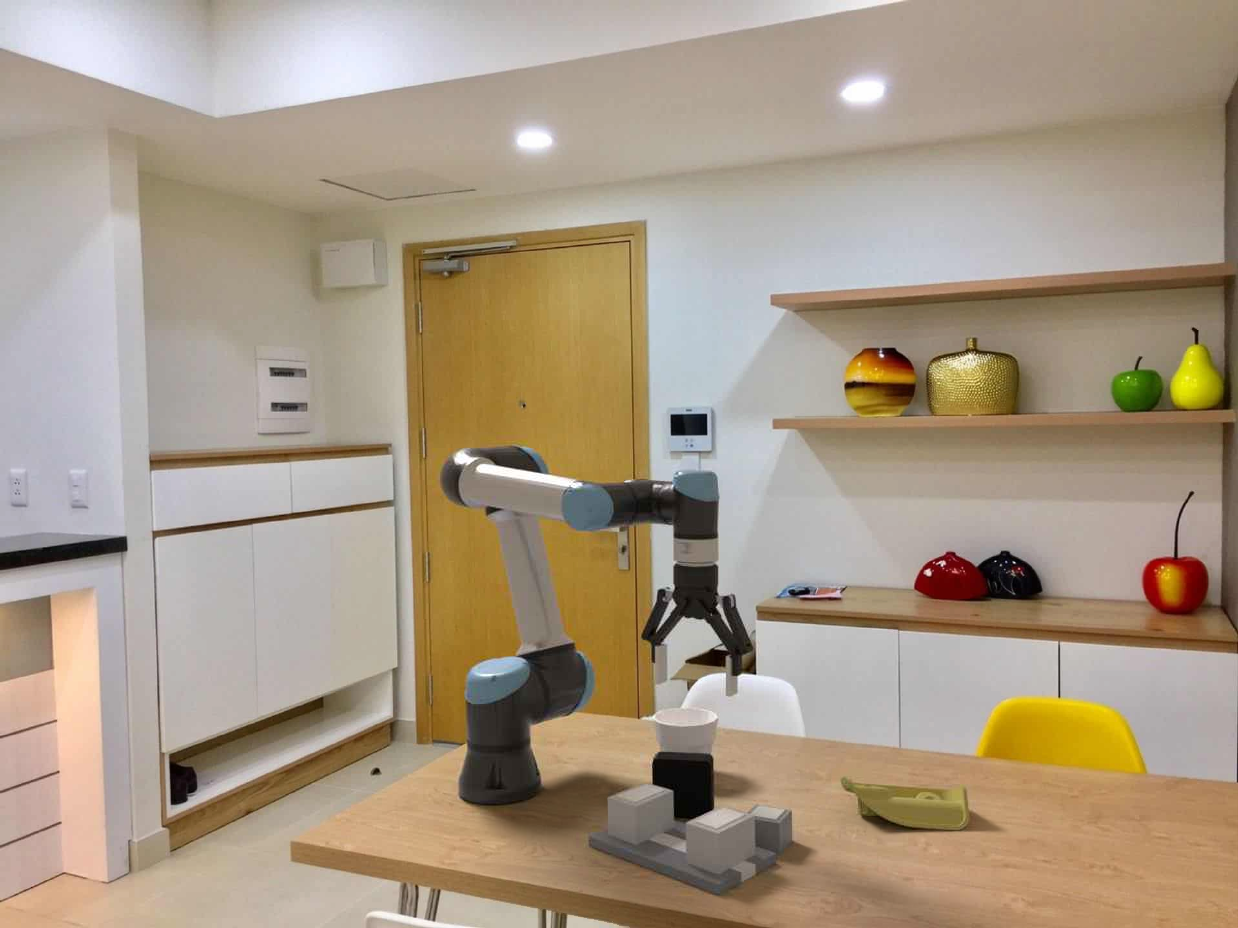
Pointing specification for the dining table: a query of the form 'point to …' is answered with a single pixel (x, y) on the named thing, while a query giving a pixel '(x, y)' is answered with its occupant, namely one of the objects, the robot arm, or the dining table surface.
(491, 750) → the robot arm
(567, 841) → the dining table surface
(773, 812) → the module
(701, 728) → the cup
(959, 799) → the plastic component
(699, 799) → the electronic device
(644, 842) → the board
